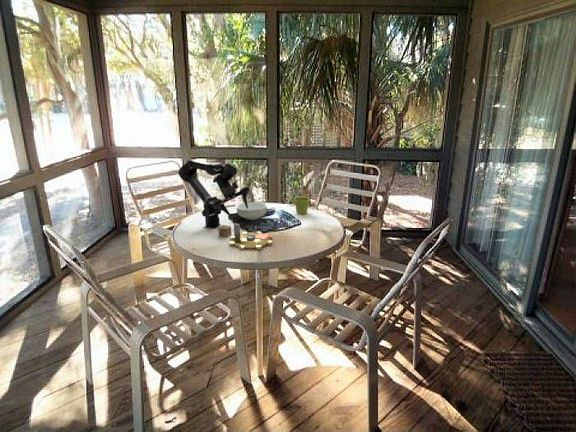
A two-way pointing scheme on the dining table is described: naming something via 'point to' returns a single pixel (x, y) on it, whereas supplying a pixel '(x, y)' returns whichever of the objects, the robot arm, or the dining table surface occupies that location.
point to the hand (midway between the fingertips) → (239, 212)
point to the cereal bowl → (252, 210)
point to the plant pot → (301, 205)
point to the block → (224, 231)
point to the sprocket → (249, 239)
